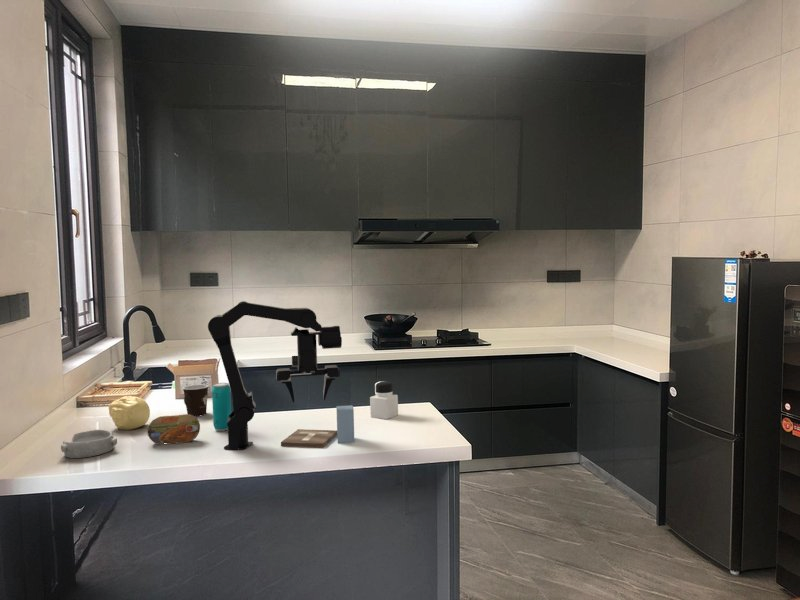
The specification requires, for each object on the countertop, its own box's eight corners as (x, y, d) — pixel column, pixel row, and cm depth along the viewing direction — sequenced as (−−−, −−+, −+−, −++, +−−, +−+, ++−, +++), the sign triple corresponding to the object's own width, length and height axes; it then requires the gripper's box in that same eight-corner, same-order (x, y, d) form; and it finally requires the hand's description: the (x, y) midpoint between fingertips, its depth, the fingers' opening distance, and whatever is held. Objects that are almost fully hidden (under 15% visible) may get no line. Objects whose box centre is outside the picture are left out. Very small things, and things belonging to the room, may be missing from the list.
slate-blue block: (337, 443, 183) (336, 410, 183) (337, 438, 188) (336, 406, 188) (354, 442, 184) (353, 409, 183) (353, 437, 189) (352, 405, 188)
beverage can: (225, 426, 206) (223, 381, 205) (235, 428, 202) (233, 383, 201) (210, 430, 201) (208, 384, 200) (220, 432, 198) (218, 386, 197)
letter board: (323, 447, 179) (322, 443, 179) (281, 446, 182) (280, 441, 182) (337, 434, 193) (337, 430, 193) (298, 432, 195) (298, 429, 195)
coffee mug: (199, 410, 229) (198, 383, 229) (214, 413, 224) (213, 386, 224) (172, 417, 220) (170, 389, 219) (186, 420, 215) (185, 392, 214)
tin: (148, 445, 186) (146, 418, 185) (150, 442, 189) (148, 415, 188) (200, 441, 189) (198, 414, 188) (201, 438, 192) (200, 412, 191)
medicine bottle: (398, 415, 215) (397, 381, 215) (387, 419, 209) (386, 384, 209) (381, 412, 219) (380, 379, 218) (370, 417, 213) (369, 382, 212)
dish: (60, 462, 172) (59, 445, 172) (65, 449, 185) (64, 432, 184) (117, 455, 178) (116, 438, 177) (118, 442, 190) (117, 426, 190)
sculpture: (104, 430, 205) (102, 398, 204) (134, 421, 215) (132, 390, 215) (127, 433, 200) (126, 400, 199) (157, 424, 210) (156, 393, 210)
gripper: (334, 344, 196) (336, 393, 196) (274, 348, 191) (276, 397, 192) (339, 349, 185) (340, 400, 186) (275, 353, 180) (277, 405, 181)
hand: (308, 401), depth 187 cm, fingers open, 9 cm apart
